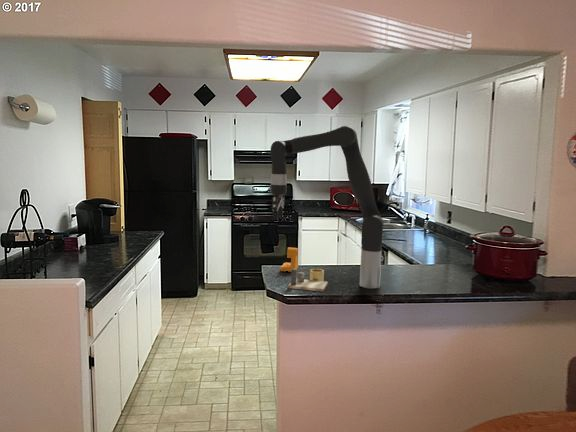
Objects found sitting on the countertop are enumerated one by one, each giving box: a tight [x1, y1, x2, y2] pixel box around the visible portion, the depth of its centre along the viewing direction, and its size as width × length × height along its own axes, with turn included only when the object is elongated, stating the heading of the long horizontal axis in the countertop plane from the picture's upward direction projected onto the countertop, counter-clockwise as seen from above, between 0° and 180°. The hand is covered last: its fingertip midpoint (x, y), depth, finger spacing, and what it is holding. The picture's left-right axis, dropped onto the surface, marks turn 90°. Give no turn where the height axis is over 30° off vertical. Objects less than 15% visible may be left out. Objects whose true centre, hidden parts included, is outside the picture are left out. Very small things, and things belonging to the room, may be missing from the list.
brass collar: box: [309, 268, 325, 281], centre depth 218 cm, size 6×6×5 cm
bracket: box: [280, 246, 299, 273], centre depth 235 cm, size 11×7×12 cm, turn 169°
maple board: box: [287, 269, 329, 293], centre depth 209 cm, size 16×12×8 cm
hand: (277, 217), depth 219 cm, fingers open, 8 cm apart
